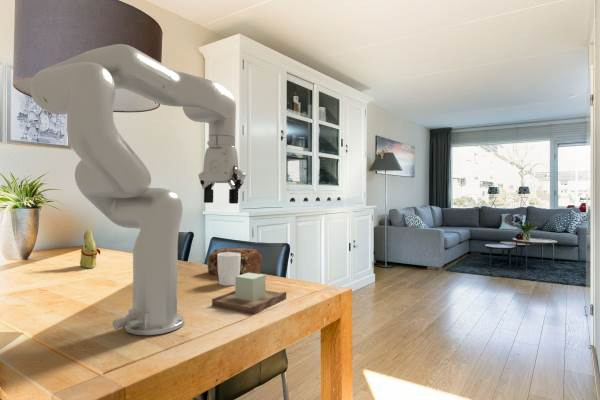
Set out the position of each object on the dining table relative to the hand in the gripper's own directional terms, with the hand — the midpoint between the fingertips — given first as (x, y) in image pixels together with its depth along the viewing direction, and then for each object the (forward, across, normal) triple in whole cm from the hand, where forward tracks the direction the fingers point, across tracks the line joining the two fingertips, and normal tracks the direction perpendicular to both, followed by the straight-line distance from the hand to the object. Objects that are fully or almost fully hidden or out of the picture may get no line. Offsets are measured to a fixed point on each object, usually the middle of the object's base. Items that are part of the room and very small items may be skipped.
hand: (220, 203), depth 107 cm
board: (+28, +9, +3) cm, 29 cm away
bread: (+28, -19, +28) cm, 43 cm away
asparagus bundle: (+28, -75, +5) cm, 80 cm away
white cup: (+28, -10, +16) cm, 33 cm away
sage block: (+26, +9, +3) cm, 28 cm away
